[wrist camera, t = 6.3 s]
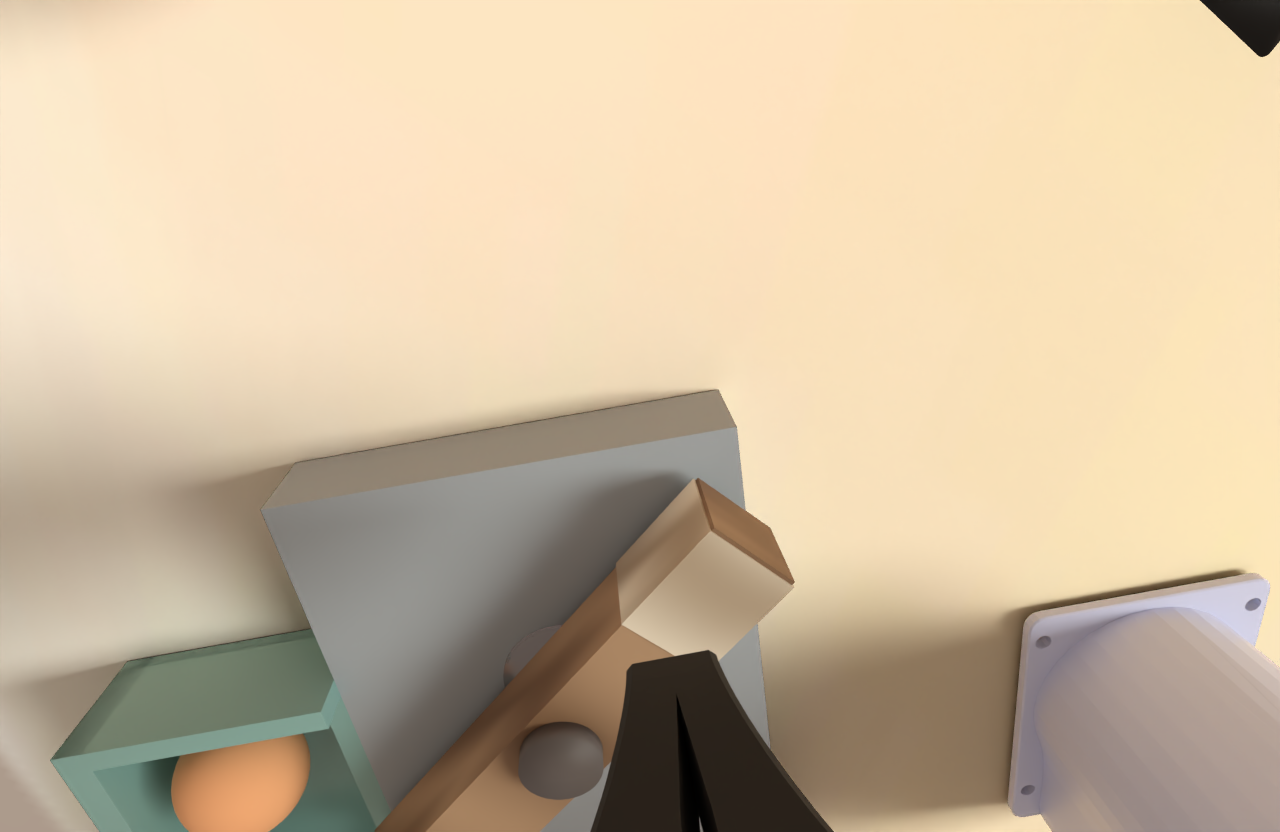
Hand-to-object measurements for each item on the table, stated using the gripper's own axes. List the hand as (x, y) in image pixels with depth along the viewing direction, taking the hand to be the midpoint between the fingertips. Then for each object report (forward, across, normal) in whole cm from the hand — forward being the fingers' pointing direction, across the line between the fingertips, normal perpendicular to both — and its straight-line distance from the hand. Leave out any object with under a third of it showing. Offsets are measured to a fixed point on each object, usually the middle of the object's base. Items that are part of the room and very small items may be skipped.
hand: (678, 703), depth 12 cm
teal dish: (+9, +12, +9) cm, 18 cm away
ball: (+7, +13, +7) cm, 16 cm away
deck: (+9, +3, +8) cm, 12 cm away
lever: (+6, +3, +5) cm, 9 cm away
